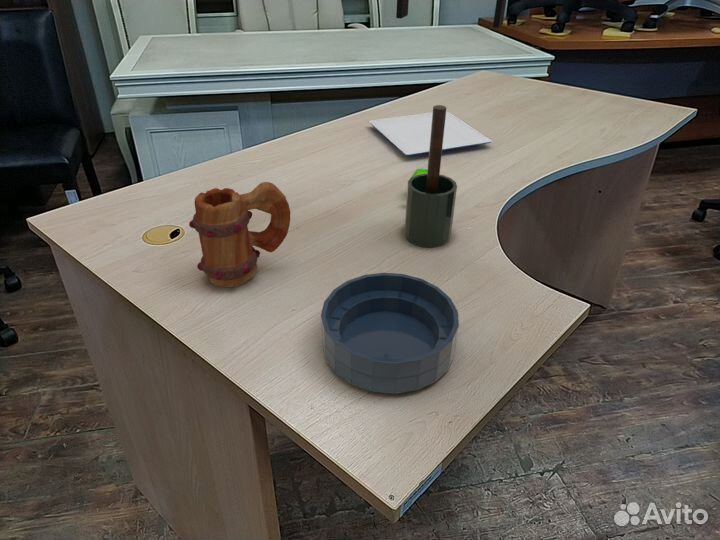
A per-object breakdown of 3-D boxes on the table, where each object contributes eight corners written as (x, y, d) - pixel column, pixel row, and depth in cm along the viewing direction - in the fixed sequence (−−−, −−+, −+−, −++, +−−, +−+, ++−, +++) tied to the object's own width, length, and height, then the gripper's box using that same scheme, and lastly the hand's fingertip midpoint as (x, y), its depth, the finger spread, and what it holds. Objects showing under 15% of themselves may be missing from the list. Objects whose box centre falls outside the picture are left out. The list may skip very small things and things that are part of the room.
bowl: (467, 325, 74) (473, 292, 70) (429, 416, 61) (434, 381, 57) (355, 293, 79) (355, 261, 76) (299, 371, 67) (296, 336, 63)
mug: (202, 298, 78) (184, 209, 69) (198, 268, 84) (180, 183, 76) (299, 281, 82) (293, 194, 73) (288, 253, 88) (281, 170, 79)
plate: (491, 148, 124) (493, 140, 123) (405, 162, 118) (406, 153, 116) (445, 117, 141) (446, 109, 140) (368, 127, 135) (368, 120, 133)
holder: (455, 229, 95) (462, 178, 89) (442, 252, 89) (448, 199, 83) (413, 220, 97) (417, 170, 91) (398, 241, 91) (401, 189, 85)
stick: (434, 230, 93) (448, 106, 80) (431, 235, 91) (444, 110, 79) (424, 227, 94) (435, 104, 81) (420, 232, 92) (431, 108, 79)
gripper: (355, -181, 61) (354, 17, 74) (579, -189, 53) (536, 35, 66) (379, -175, 67) (375, 8, 79) (586, -182, 59) (545, 24, 71)
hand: (448, 21), depth 73 cm, fingers open, 13 cm apart
